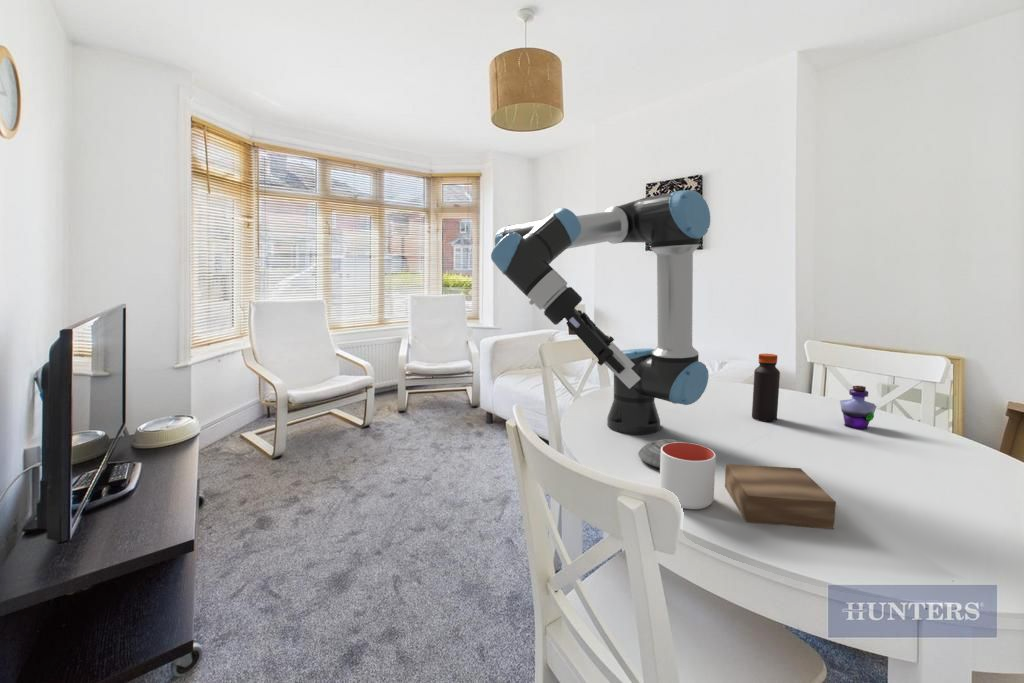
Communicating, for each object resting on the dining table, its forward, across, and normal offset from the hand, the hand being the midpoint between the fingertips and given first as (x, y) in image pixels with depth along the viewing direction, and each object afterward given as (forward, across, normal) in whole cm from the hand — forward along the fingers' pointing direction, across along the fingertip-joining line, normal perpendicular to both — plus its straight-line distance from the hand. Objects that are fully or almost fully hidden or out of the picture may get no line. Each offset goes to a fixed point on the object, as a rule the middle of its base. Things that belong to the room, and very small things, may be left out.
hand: (632, 375), depth 87 cm
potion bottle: (+65, -53, +30) cm, 89 cm away
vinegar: (+48, -57, +14) cm, 76 cm away
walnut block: (+36, 0, +2) cm, 36 cm away
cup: (+25, 0, -10) cm, 27 cm away
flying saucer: (+26, -19, -10) cm, 34 cm away
